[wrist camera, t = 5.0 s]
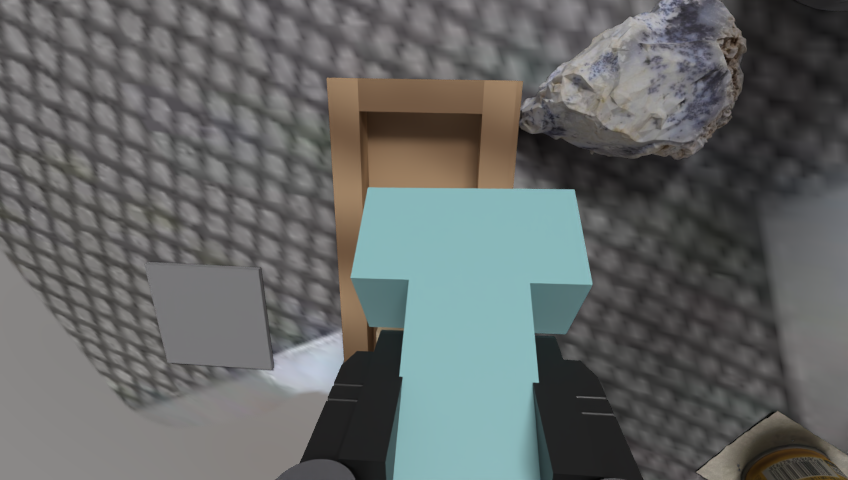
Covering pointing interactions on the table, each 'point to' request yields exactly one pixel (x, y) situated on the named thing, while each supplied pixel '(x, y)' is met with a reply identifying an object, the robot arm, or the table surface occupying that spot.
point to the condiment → (778, 455)
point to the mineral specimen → (646, 84)
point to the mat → (211, 314)
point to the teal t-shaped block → (470, 317)
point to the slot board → (412, 155)
